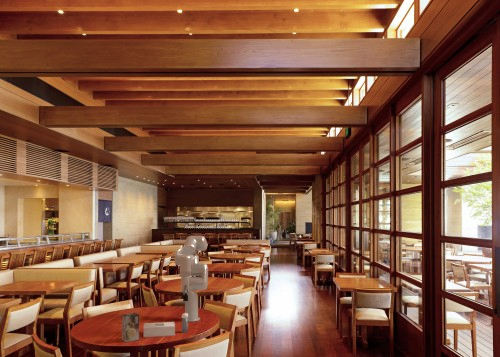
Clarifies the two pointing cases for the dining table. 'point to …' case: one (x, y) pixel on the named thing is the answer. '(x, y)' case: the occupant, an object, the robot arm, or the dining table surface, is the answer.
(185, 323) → the marker peg
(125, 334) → the coffee box
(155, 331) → the socket block
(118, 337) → the dining table surface
